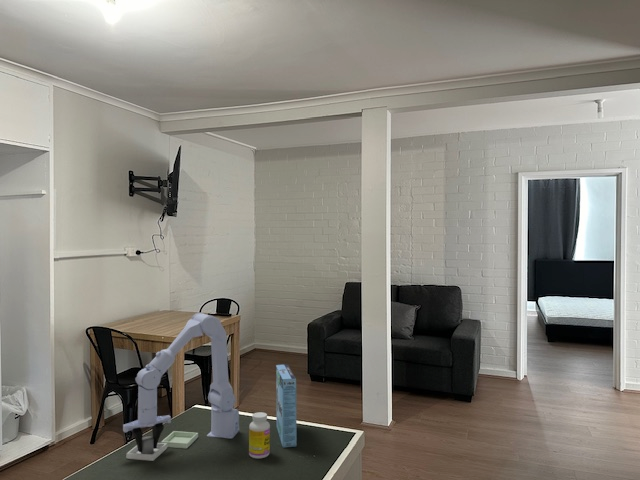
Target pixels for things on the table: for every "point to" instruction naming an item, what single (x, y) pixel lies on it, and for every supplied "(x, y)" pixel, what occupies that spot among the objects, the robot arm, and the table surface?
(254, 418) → the supplement bottle
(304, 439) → the table surface
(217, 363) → the robot arm
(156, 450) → the grey tray
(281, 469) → the table surface
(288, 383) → the light blue carton
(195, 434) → the sage tray
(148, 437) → the grey cylinder
